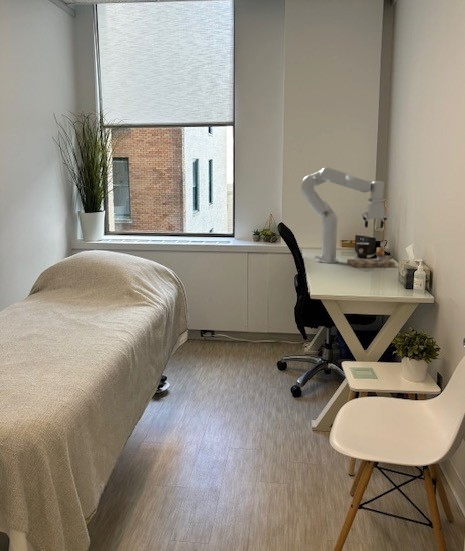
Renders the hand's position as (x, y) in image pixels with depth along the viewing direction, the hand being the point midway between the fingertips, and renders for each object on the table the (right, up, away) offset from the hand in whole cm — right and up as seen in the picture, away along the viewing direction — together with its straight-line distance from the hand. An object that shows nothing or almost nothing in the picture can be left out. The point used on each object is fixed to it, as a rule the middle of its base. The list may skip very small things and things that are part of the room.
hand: (373, 227), depth 345 cm
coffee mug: (0, -19, +27) cm, 33 cm away
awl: (+3, -24, -1) cm, 24 cm away
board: (-2, -24, -1) cm, 24 cm away
